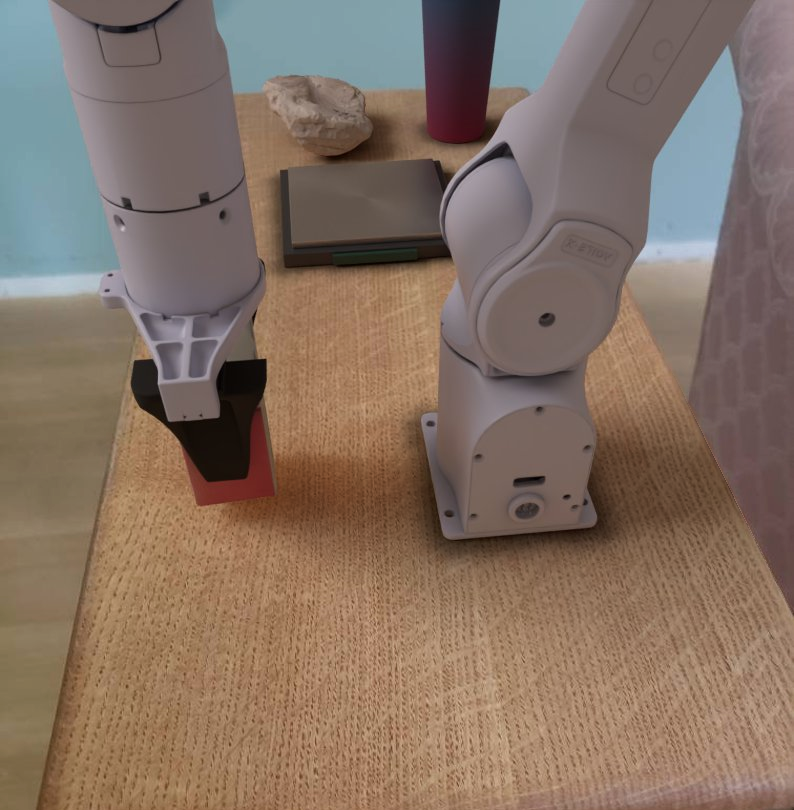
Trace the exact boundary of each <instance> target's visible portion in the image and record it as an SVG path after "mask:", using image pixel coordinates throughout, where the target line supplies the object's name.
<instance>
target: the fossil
mask: <svg viewBox="0 0 794 810" xmlns="http://www.w3.org/2000/svg"><path fill="white" fill-rule="evenodd" d="M262 93H263V94H264V95H265V96H266V98H267V99H268V108H269V109H270V111H271V112H272V113H273V114H275V115H276V116H278V117H280V118H281V120H282V122H283V124H284V125H285V126H286V128H287V130H288V131H289V133H290V135H291V137H293V138H294V139H295V140H296V143H298V145H299V146H301V147H302V148H303V149H305V150H306V151H308V152H309V153H313V154H314V155H317V156H327V157H328V156H339V155H342V154H345V153H348V152H351V151H352V150H354V149H355V148H356V147H358V146H359V145H360V144H362V143H363V142H364V141H367V140H368V139H370V138H371V136H372V132H373V130H374V125H373V122H372V120H371V119H370V118H369V117H367V116H366V115H365V114H366V107H367V104H366V97H365V95H364V93H363V92H362V91H361V90H360V89H359V88H358V87H357V86H355V85H352V84H350V83H348V82H347V81H344V80H341V79H339V78H333V77H324V76H321V75H319V74H316V75H313V74H312V75H310V74H308V75H305V74H304V75H298V74H289V75H275V76H273V77H271V78H268V79H267V80H266V81H265V82H264V83H263V85H262Z"/></svg>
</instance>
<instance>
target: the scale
mask: <svg viewBox="0 0 794 810" xmlns="http://www.w3.org/2000/svg"><path fill="white" fill-rule="evenodd" d="M447 186H448V183H447V179H446V176H445V173H444V170H443V167H442V163H441V160H439V159H438V160H434V159H433V158H418V159H416V158H415V159H402V160H401V159H400V160H384V161H383V160H381V161H367V162H366V161H365V162H350V163H348V162H347V163H334V164H333V163H332V164H319V165H318V164H317V165H301V166H299V165H298V166H288V167H287V169H280V170H279V189H280V217H281V218H280V219H281V240H282V241H281V243H282V259H283V267H284V268H293V267H306V266H321V265H333V266H341V265H357V264H372V263H384V262H385V263H387V262H400V261H401V262H402V261H417V260H418V259H426V258H441V257H452V255H451V252H450V250H449V248H448V246H447V245H446V243H445V241H444V239H443V236H442V232H441V228H440V217H439V216H440V207H441V202H442V199H443V195H444V193H445V191H446V188H447Z"/></svg>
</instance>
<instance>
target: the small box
mask: <svg viewBox="0 0 794 810" xmlns="http://www.w3.org/2000/svg"><path fill="white" fill-rule="evenodd" d="M252 359H259V354H258V349H257V342H256V336H255V328H254V326H253V321H252V318H251V319H250V321H249V322H248V324H247V326H246V327H245V329H244V331H243V332H242V334H241V335H240V337H239V339H238V340H237V342H236V344H235V345H234V347H233V348H232V350H231V352H230V353H229V355H228V357H227V358H226V361H239V360H252ZM268 419H269V418H268V411H267V407H266V400H265V393H264V394H263V398H262V400H261V401H260V403H259V405H258V406H257V408H256V411H255V413H254V416H253V420H252V425H251V434H250V467H249V473H248V477H247V478H246V479H242V480H230V481H218V482H207V481H206V480H205V479H204V478H203V477H202V475H201V474H200V472H199V471H198V469H197V468H196V466H195V465H194V463H193V462H192V460H191V459H190V457H189V455H188V454H187V452H186V451H185V449H184V448H183V446H182V445H181V443H180V442H179V445H180V448H181V452H182V455H183V459H184V463H185V467H186V471H187V474H188V478H189V482H190V485H191V488H192V493H193V496H194V500H195V504H196V505H197V506H198V507H206V506H213V505H221V504H222V505H223V504H228V503H236V502H243V501H244V502H245V501H251V500H257V499H263V498H271V497H275V496H277V495H278V492H279V491H278V489H279V488H278V481H277V473H276V463H275V458H274V452H273V451H274V450H273V444H272V439H271V433H270V432H271V431H270V425H269V420H268Z"/></svg>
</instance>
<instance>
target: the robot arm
mask: <svg viewBox="0 0 794 810" xmlns="http://www.w3.org/2000/svg"><path fill="white" fill-rule="evenodd" d="M755 2H757V0H584V2H583V4H582V6H581V8H580V10H579V12H578V14H577V16H576V18H575V19H574V22H573V24H572V26H571V28H570V30H569V32H568V33H567V36H566V37H565V40H564V42H563V44H562V46H561V48H560V49H559V52H558V53H557V55H556V57H555V59H554V62H553V63H552V65H551V66H550V70H549V71H548V73H547V75H546V77H545V79H544V81H543V83H542V85H541V86H540V87H539V88H538V89H537V90H535V91H534V92H533V93H531V94H530V95H528V96H526V97H525V98H523V99H521V100H520V101H518V102H517V103H515V104H514V105H512V106H510V107H509V108H508V109H507V110H506V111H505V113H504V115H503V116H502V118H501V120H500V122H499V125H498V126H497V128H496V130H495V132H494V134H493V135H492V137H491V138H490V140H489V141H488V143H487V144H486V145H485V146H484V147H483V148H482V149H481V150H480V151H478V153H477V154H476V155H474V156H473V157H472V158H471V159H469V160H468V161H467V162H466V163H465V164H463V165H462V166H461V167H460V168H459V170H458V171H457V172H455V174H454V175H453V177H452V178H451V180H450V181H449V182H448V183H447V188H446V191H445V193H444V195H443V199H442V202H441V207H440V216H439V217H440V228H441V232H442V236H443V239H444V241H445V243H446V245H447V246H448V248H449V250H450V252H451V255H452V256H451V259H452V262H453V265H454V269H455V272H456V275H457V276H456V278H455V280H454V283H453V285H452V287H451V289H450V292H449V294H448V295H447V297H446V299H445V301H444V303H443V305H442V307H441V311H440V318H439V319H440V320H439V321H440V322H439V351H438V352H439V353H438V386H437V411H435V412H433V411H432V412H426V413H424V414H422V416H421V418H420V424H421V430H422V435H423V441H424V446H425V451H426V456H427V460H428V468H429V471H430V477H431V481H432V482H431V483H432V486H433V492H434V496H435V497H434V498H435V503H436V507H437V512H438V517H439V523H440V528H441V533H442V535H443V537H444V538H445V539H447V540H452V541H453V540H465V539H477V538H489V537H499V536H500V537H501V536H510V535H511V536H512V535H521V534H533V533H545V532H556V531H557V532H558V531H568V530H579V529H589V528H590V529H591V528H592V527H595V526H596V524H597V521H598V515H597V512H596V509H595V506H594V503H593V500H592V498H591V495H590V492H589V490H588V489H589V488H588V484H589V479H590V475H591V469H592V465H593V461H594V455H595V452H596V448H597V430H596V426H595V423H594V420H593V417H592V415H591V412H590V408H589V405H588V401H587V395H586V385H585V382H586V374H587V373H586V372H587V367H588V362H589V358H590V355H592V353H593V352H596V350H597V349H598V348H599V347H600V346H601V344H603V343H604V341H606V339H607V337H608V336H609V335H610V333H611V332H612V330H613V328H614V326H615V324H616V322H617V319H618V315H619V313H620V310H621V302H622V295H623V287H624V284H625V282H626V279H627V276H628V274H629V272H630V271H631V269H632V267H633V265H634V263H635V262H636V260H637V259H638V257H639V256H640V254H641V253H642V251H643V250H644V248H645V246H646V243H647V238H648V233H649V219H650V204H651V189H652V176H653V170H654V169H653V168H654V164H655V160H656V159H657V158H658V155H659V154H660V152H661V151H662V150H663V148H664V146H665V144H666V143H667V141H668V140H669V138H670V136H672V133H673V132H674V130H675V129H676V127H677V126H678V124H679V122H680V121H681V119H682V118H683V117H684V114H685V113H686V111H687V110H688V109H689V107H690V105H691V103H692V102H693V101H694V99H695V98H696V95H697V94H698V93H699V91H700V89H701V88H702V86H703V84H704V83H705V81H706V80H707V78H708V77H709V76H710V73H711V72H712V70H713V68H715V66H716V64H717V62H718V61H719V59H720V58H721V56H722V54H723V53H724V51H725V50H726V48H727V47H728V45H729V43H730V42H731V40H732V39H733V37H734V35H735V34H736V32H738V29H739V28H740V26H741V24H742V23H743V21H744V19H745V18H746V17H747V15H748V14H749V12H750V11H751V8H752V7H753V5H754V4H755ZM47 3H48V7H49V10H50V11H49V12H50V15H51V19H52V21H53V24H54V29H55V32H56V35H57V39H58V41H59V46H60V49H61V53H62V57H63V58H62V66H63V67H62V68H63V71H64V76H65V79H66V82H67V85H68V89H69V92H70V95H71V99H72V102H73V106H74V109H75V113H76V117H77V120H78V123H79V128H80V131H81V134H82V138H83V142H84V145H85V148H86V151H87V156H88V159H89V162H90V166H91V169H92V173H93V176H94V179H95V184H96V187H97V190H98V193H99V197H100V200H101V204H102V207H103V210H104V214H105V217H106V221H107V225H108V228H109V231H110V234H111V238H112V242H113V245H114V249H115V252H116V253H115V254H116V257H117V259H118V262H119V266H120V267H119V268H120V269H112V270H108V271H105V272H104V273H103V274H102V275H101V277H100V282H99V286H98V296H99V299H100V301H101V305H102V307H103V308H106V309H111V310H115V309H116V310H117V309H124V310H126V311H127V312H129V314H130V316H131V318H132V320H133V322H134V324H135V326H136V328H137V331H138V332H139V334H140V336H141V338H142V340H143V342H144V344H145V346H146V348H147V350H148V353H149V354H150V356H151V358H145V359H143V358H142V359H134V360H133V364H132V370H131V378H130V388H131V391H132V396H133V398H134V400H135V402H136V403H137V405H138V407H139V408H140V409H141V410H142V411H144V412H146V413H148V415H151V416H152V417H154V418H155V419H157V420H158V421H159V422H160V423H162V424H163V426H164V427H166V428H167V429H168V430H169V431H170V432H171V434H173V436H175V438H176V439H177V440H178V442H179V444H180V443H181V445H182V446H183V448H184V449H185V451H186V452H187V454H188V455H189V457H190V459H191V460H192V462H193V463H194V465H195V466H196V468H197V469H198V471H199V472H200V474H201V475H202V477H203V478H204V479H205V480H206V481H207V482H218V481H230V480H242V479H246V478H247V477H248V473H249V467H250V434H251V425H252V420H253V416H254V413H255V411H256V408H257V406H258V405H259V403H260V401H261V400H262V398H263V394H264V395H265V392H266V387H267V383H268V359H267V358H258V359H252V360H239V361H226V358H227V357H228V355H229V353H230V352H231V350H232V348H233V347H234V345H235V344H236V342H237V340H238V339H239V337H240V335H241V334H242V332H243V331H244V329H245V327H246V326H247V324H248V322H249V321H250V319H251V318H252V321H253V327H254V326H255V321H256V316H257V313H258V308H259V306H260V305H261V303H262V302H263V300H264V297H265V295H266V292H267V289H268V288H267V287H268V286H267V285H268V284H267V274H266V273H267V270H266V264H265V261H264V260H263V259H262V258H260V257H259V254H258V248H257V241H256V234H255V228H254V221H253V216H252V207H251V200H250V196H249V195H250V193H249V188H248V180H247V175H246V169H245V168H246V167H245V162H244V155H243V149H242V143H241V134H240V128H239V122H238V115H237V109H236V102H235V97H234V89H233V82H232V75H231V69H230V62H229V56H228V50H227V46H226V43H225V41H224V39H223V38H222V35H221V34H220V31H219V29H218V26H217V20H216V14H215V12H216V11H215V6H214V0H47ZM181 445H180V446H181Z"/></svg>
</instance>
